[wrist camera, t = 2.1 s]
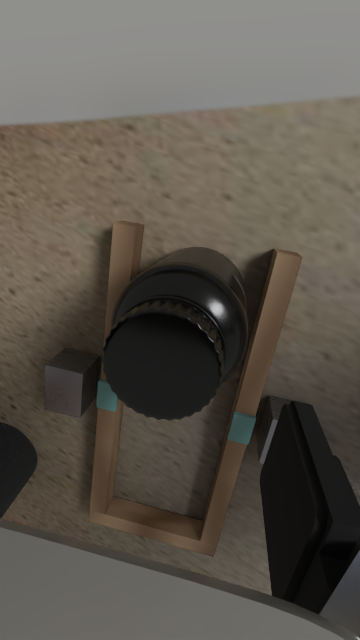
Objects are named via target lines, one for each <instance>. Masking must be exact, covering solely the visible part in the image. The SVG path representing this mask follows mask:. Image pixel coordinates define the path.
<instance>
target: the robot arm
mask: <svg viewBox="0 0 360 640" xmlns="http://www.w3.org/2000/svg"><path fill="white" fill-rule="evenodd" d="M260 487H261V496H262V506H263V515H264V524H265V534H266V543H267V552H268V562H269V571H270V580H271V590H272V596H270V595H268V594H265V593H262V592H259V591H256V590H253V589H250V588H246V587H243V586H240V585H236V584H233V583H229V582H226V581H223V580H219V579H216V578H213V577H209V576H206V575H203V574H199V573H196V572H192V571H189V570H186V569H182V568H179V567H175V566H171V565H168V564H164V563H161V562H157V561H153V560H150V559H146V558H143V557H139V556H135V555H132V554H128V553H125V552H121V551H117V550H114V549H110V548H107V547H103V546H99V545H96V544H92V543H88V542H85V541H81V540H78V539H74V538H70V537H67V536H63V535H59V534H56V533H52V532H48V531H45V530H41V529H37V528H33V527H30V526H26V525H22V524H19V523H15V522H11V521H8V520H4V519H0V640H360V506H359V503H358V501H357V499H356V497H355V494H354V492H353V490H352V487H351V485H350V483H349V480H348V478H347V476H346V473H345V471H344V469H343V466H342V464H341V462H340V460H339V459H338V457H336V456H334V455H333V454H332V452H331V450H330V447H329V445H328V442H327V440H326V437H325V435H324V433H323V430H322V428H321V425H320V423H319V420H318V418H317V416H316V413H315V411H314V408H313V406H312V405H310V404H306V403H301V402H297V401H291V402H290V404H289V405H288V404H284V405H283V407H282V410H281V413H280V416H279V419H278V422H277V425H276V428H275V431H274V434H273V437H272V440H271V443H270V446H269V449H268V452H267V455H266V458H265V461H264V464H263V468H262V471H261V476H260Z"/></svg>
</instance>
